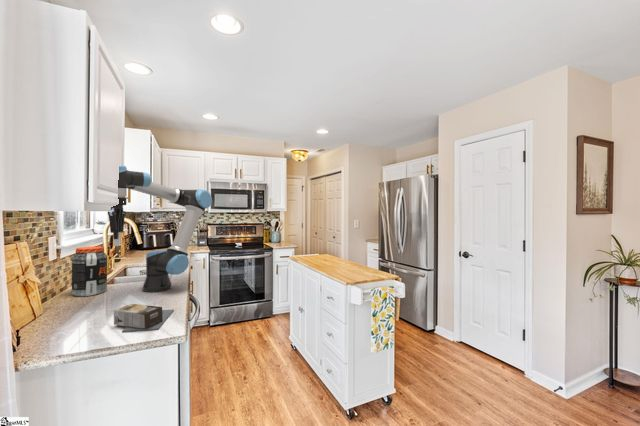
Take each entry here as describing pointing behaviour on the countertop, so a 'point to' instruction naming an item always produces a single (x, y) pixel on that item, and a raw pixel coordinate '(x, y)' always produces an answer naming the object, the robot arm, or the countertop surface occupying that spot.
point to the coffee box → (138, 316)
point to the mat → (155, 327)
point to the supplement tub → (89, 271)
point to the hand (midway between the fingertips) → (117, 245)
